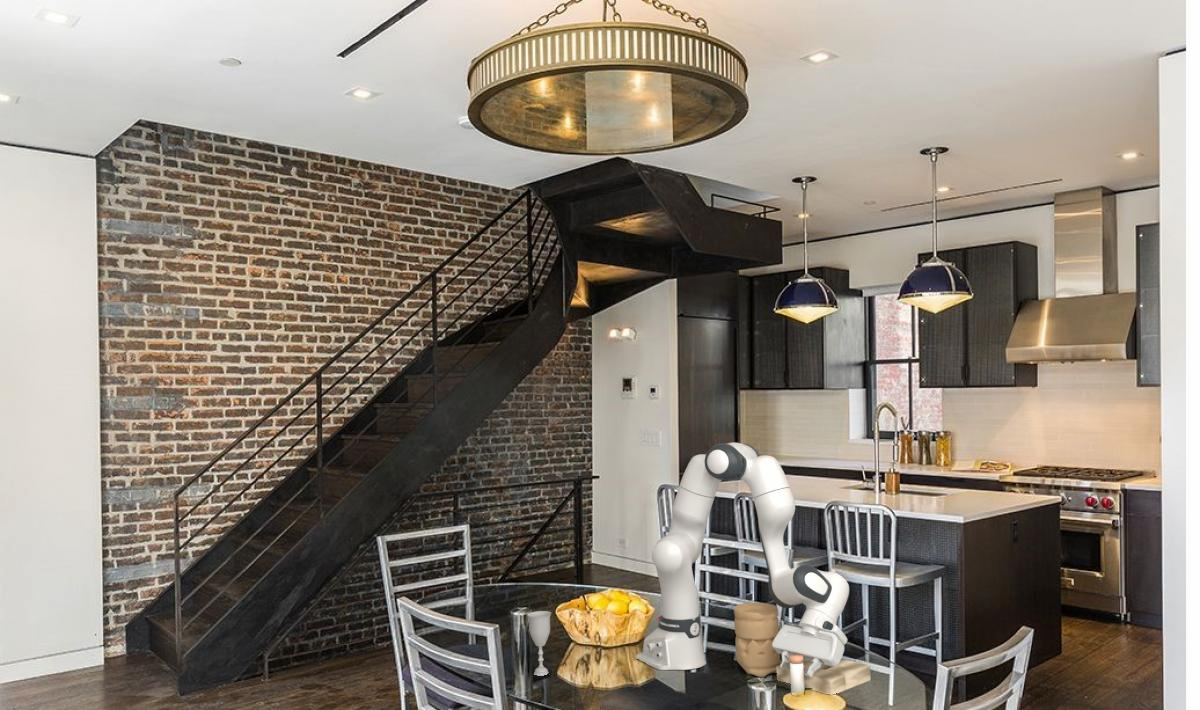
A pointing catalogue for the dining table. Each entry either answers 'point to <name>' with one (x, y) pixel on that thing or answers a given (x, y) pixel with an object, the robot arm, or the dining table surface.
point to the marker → (796, 673)
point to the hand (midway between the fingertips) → (795, 672)
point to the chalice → (539, 635)
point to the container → (756, 637)
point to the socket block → (831, 676)
